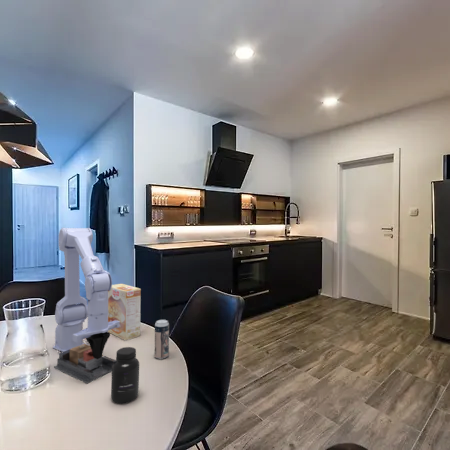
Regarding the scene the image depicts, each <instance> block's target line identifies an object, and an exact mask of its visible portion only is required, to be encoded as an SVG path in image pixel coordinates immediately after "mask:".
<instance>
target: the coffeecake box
mask: <svg viewBox="0 0 450 450" xmlns="http://www.w3.org/2000/svg"><path fill="white" fill-rule="evenodd" d="M141 291H142V289H141V288H139V287H136V286H132V285H129V284H126V283H125V284H124V283H116V284H112V288H111V290H110V291H108V322H111V321H115V320H117V321H120V327H118V328H113V329H110V330H109V331H108V333H110V334H112V335H114V336H115V337H117V338H120V339H122V340H123V341H129V340H131V339H134V338H138V337H141V301H142V299H141V297H142V296H141V295H142V294H141Z"/></svg>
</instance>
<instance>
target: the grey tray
mask: <svg viewBox="0 0 450 450" xmlns="http://www.w3.org/2000/svg"><path fill="white" fill-rule="evenodd" d="M56 359H57V360H56V361H57V364H56V365H55V366H54V367H53V368H54V369H55V370H58V371H59V372H62V373H64V374H66V375H68V376H70V377H73V379H74V378H75V379H76V380H78V381H80V382H83V383H85V384H90V383H92V382H93V381H96V380H97V379H99V378H101V377H103V376H105V375H107V374H110V373H112V365H113V363H114V362H115V361H116V359H113V358H112V357H108V356H107V355H103V361H102V365H100V366H98V367H96V368H94V369H92V370H89V369H86V368H84V367H82V366H79V365H77V364H75V363H72V362H70V349H69V350H67V351H64V352H62V351H60V352H59V353H58V358H56Z"/></svg>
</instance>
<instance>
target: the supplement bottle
mask: <svg viewBox="0 0 450 450" xmlns="http://www.w3.org/2000/svg"><path fill="white" fill-rule="evenodd" d="M136 351H137V350H136V348H135V347H131V346H126V347H122V348H119V349H118V350H117V351H116V356H115V360H116V361H115V362H114V363H113V365H112V371H111V380H110V381H111V387H110V399H111V401H112V402H114V403H115V404H119V405H122V404H128V403H129V404H130V402H131V403H132V402H133V401H134V400H135V399H136V398H137V397H138V396H139V389H140V361H139V359H138V358H137V352H136Z"/></svg>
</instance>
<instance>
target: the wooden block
mask: <svg viewBox="0 0 450 450" xmlns="http://www.w3.org/2000/svg"><path fill="white" fill-rule="evenodd" d="M87 344H88V343H85V344H82V345H80V346H77V347H74V348H72V349H70V362H72V363H75V364H77V365H78V359H79V358H81V357H84V351H87V350H89V349H91V347H90V345H89V344H88V345H87Z"/></svg>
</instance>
